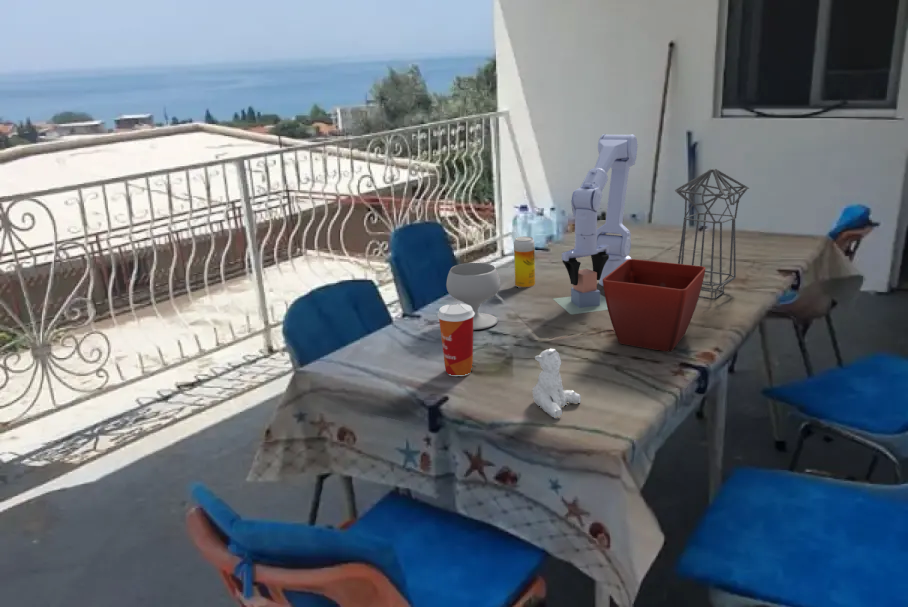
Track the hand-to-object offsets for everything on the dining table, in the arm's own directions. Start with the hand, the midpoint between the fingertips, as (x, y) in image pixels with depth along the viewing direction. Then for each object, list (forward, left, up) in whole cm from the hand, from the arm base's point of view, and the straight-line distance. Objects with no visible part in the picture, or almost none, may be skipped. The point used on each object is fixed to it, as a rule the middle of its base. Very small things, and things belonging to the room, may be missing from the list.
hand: (585, 281), depth 194 cm
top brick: (0, 0, -2) cm, 2 cm away
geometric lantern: (-36, +1, -7) cm, 37 cm away
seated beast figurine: (+29, +53, -7) cm, 61 cm away
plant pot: (-5, +28, -7) cm, 30 cm away
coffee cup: (+43, +31, -7) cm, 54 cm away
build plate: (0, 0, -7) cm, 7 cm away
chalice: (+32, +2, -7) cm, 33 cm away
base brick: (0, 0, -6) cm, 6 cm away
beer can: (+10, -23, -7) cm, 26 cm away
